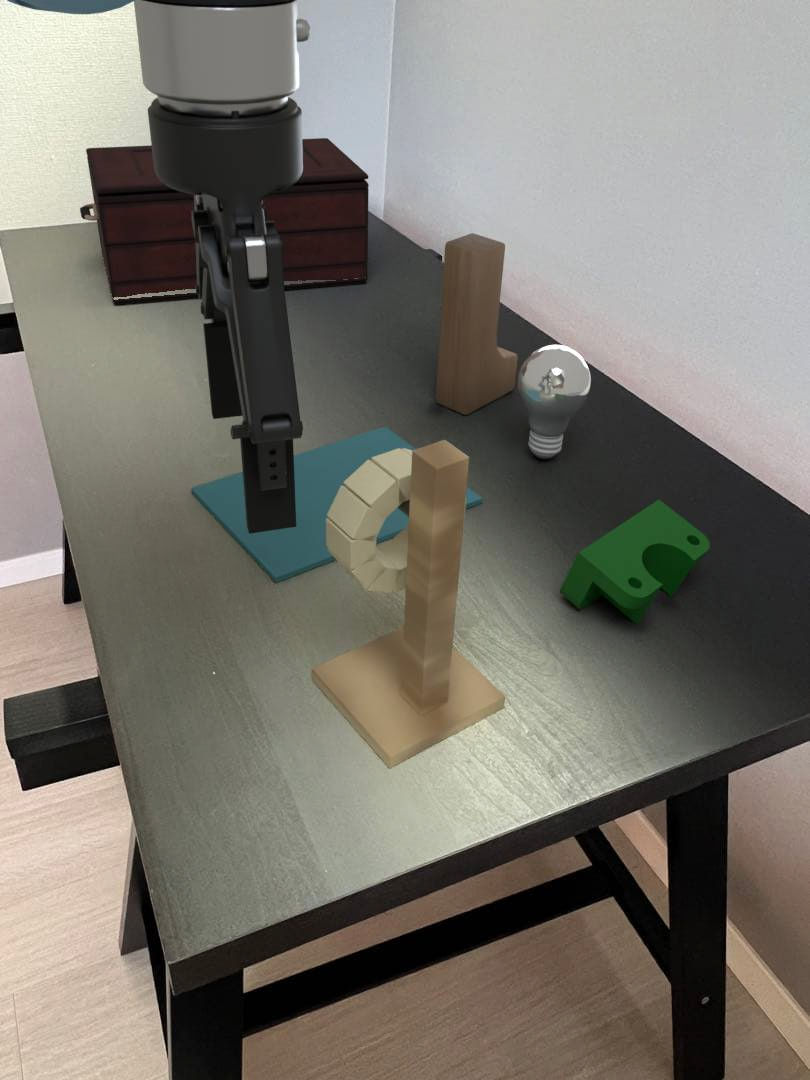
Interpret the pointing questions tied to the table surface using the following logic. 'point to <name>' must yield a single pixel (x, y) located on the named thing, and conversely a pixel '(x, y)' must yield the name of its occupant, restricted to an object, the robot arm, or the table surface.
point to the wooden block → (472, 326)
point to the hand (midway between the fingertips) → (250, 466)
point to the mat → (305, 504)
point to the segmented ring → (372, 522)
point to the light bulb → (552, 395)
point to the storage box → (168, 238)
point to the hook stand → (417, 631)
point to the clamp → (636, 561)
